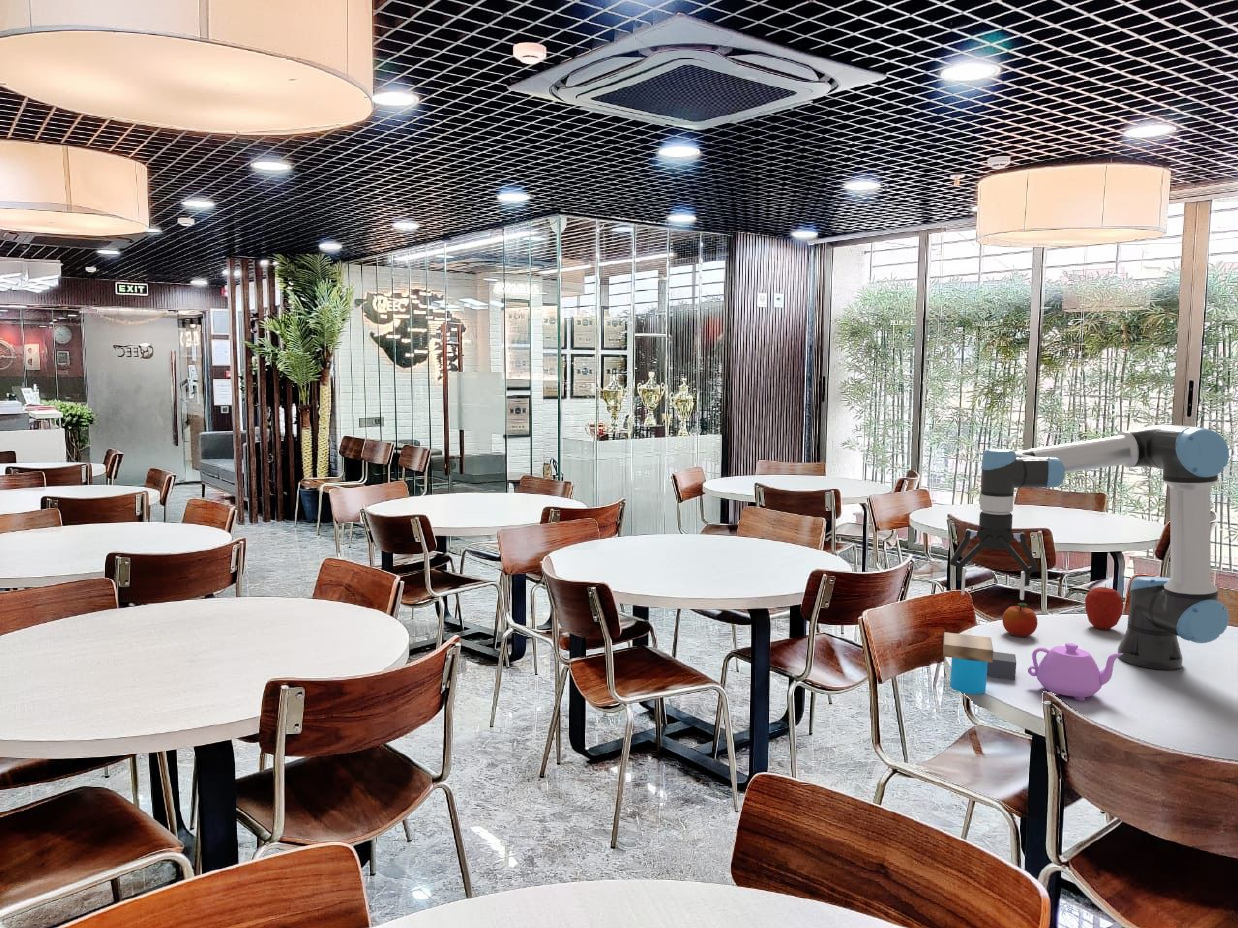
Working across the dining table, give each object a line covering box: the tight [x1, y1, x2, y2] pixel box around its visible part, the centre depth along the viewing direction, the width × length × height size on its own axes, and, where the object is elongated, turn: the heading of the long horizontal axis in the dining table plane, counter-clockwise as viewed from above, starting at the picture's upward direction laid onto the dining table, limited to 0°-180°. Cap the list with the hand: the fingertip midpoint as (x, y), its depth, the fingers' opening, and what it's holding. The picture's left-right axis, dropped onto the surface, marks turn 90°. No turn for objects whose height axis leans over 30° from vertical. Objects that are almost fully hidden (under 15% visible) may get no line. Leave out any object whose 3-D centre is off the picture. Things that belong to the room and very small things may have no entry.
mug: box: [949, 658, 988, 695], centre depth 222 cm, size 12×8×8 cm
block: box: [942, 632, 994, 663], centre depth 221 cm, size 11×11×3 cm
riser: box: [987, 651, 1017, 681], centre depth 231 cm, size 7×7×4 cm
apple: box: [1084, 583, 1124, 631], centre depth 274 cm, size 10×10×14 cm
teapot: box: [1027, 642, 1123, 702], centre depth 217 cm, size 20×14×12 cm
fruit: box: [1001, 602, 1039, 638], centre depth 266 cm, size 10×10×10 cm
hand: (992, 596), depth 225 cm, fingers open, 13 cm apart
